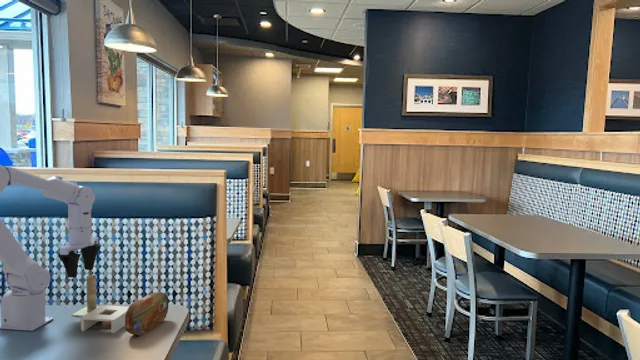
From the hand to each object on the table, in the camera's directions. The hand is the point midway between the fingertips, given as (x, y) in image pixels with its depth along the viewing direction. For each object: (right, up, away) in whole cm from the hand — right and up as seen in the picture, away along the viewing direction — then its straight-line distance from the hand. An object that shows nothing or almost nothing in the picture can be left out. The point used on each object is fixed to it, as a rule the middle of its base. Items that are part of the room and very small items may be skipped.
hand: (80, 273), depth 130 cm
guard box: (+13, -11, -12) cm, 21 cm away
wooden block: (+5, -10, -3) cm, 12 cm away
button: (+13, -11, -12) cm, 21 cm away
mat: (+5, -10, -3) cm, 12 cm away
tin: (+24, -12, -13) cm, 30 cm away
